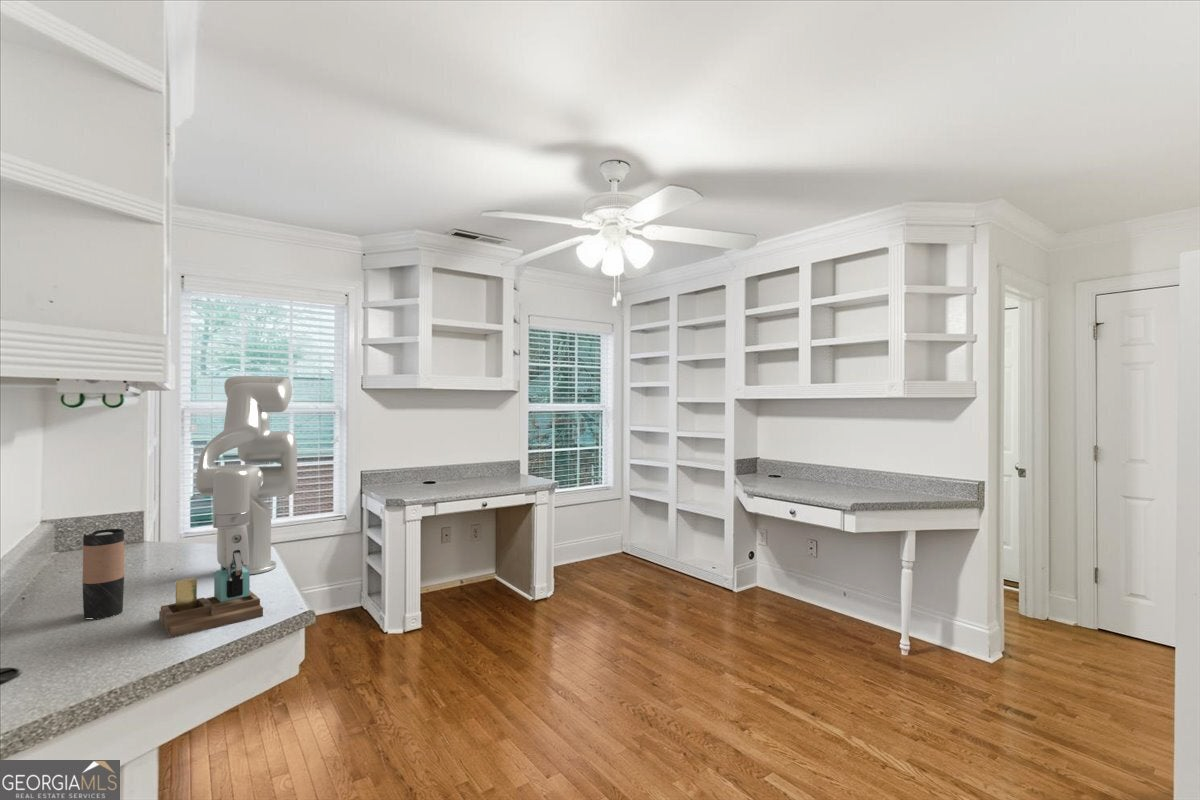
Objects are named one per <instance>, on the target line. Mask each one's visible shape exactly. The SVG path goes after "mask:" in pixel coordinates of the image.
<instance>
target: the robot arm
mask: <svg viewBox="0 0 1200 800" xmlns="http://www.w3.org/2000/svg"><path fill="white" fill-rule="evenodd" d="M223 386H224V392H225V394H226V398H227V402H226V410H225V417H224V424H223V430H222V431H221V432H220V433H218V434H217V435H216V436H214V437H213V438H212V439H211V440H210V441H209V442H208V443H207V444H206V445H205V447H204V448H203V449H202V451H201V453H200V455H199V459H198V463H197V464H198V465H197V470H196V478H195V486H196V490H197V491H198V493H199V494H200V495H203V496H206V497H207V496H210V497H211V496H212V497H213V498H212V499H213V500H212V503H213V504H212V528H213V529H217V532H216V533H217V537H216V559H217V562H218V564H220V570H226V569H228V580H229V581H227V597H228V598H231V597H236V596H240V595H242V594H243V574H242V569H243V567H244V568H245V569H247V570H248V571H250V575H256V574H261V573H262V574H263V573H266V572H269V571H272V570H274V569H275V568H276V567H277V561H275V560H272V550H271V549H272V512H271V508H270V507H269V505H268V504H267V502H265V501H264V500H263V498H274V497H275V498H276V497H277V498H278V497H287V496H291V495H294V493H295V492H296V490H297V487H298V486H297V485H298V444H297V439H296V437H295V435H294V433H292V432H291V431H286V430H285V431H282V430H278V431H271V429H270V414H269V413H283V412H285V411H286V409H287V408H288V406H289V404H290V401H291V398H292V395H293V394H292V393H293V387H292V383H291V381H290V380H289V378H288V377H284V376H266V375H265V376H260V375H236V376H231V377H228V378H227V379H225V381H224V385H223ZM236 448H237V456H238V458H239V460H240V461H241V462H245V463H279V464H280V465H271V466H267V465H266V466H265V465H263V466H257V465H254V464H231V465H230V464H224V465H213V464H214V463H215V461H216V460H217V459H218V458H219V457H220V456H221V455H224V453H227V452H228V451H231V450H234V449H236ZM220 570H219V571H220ZM231 570H235V571H233V573H232V572H231Z"/></svg>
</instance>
